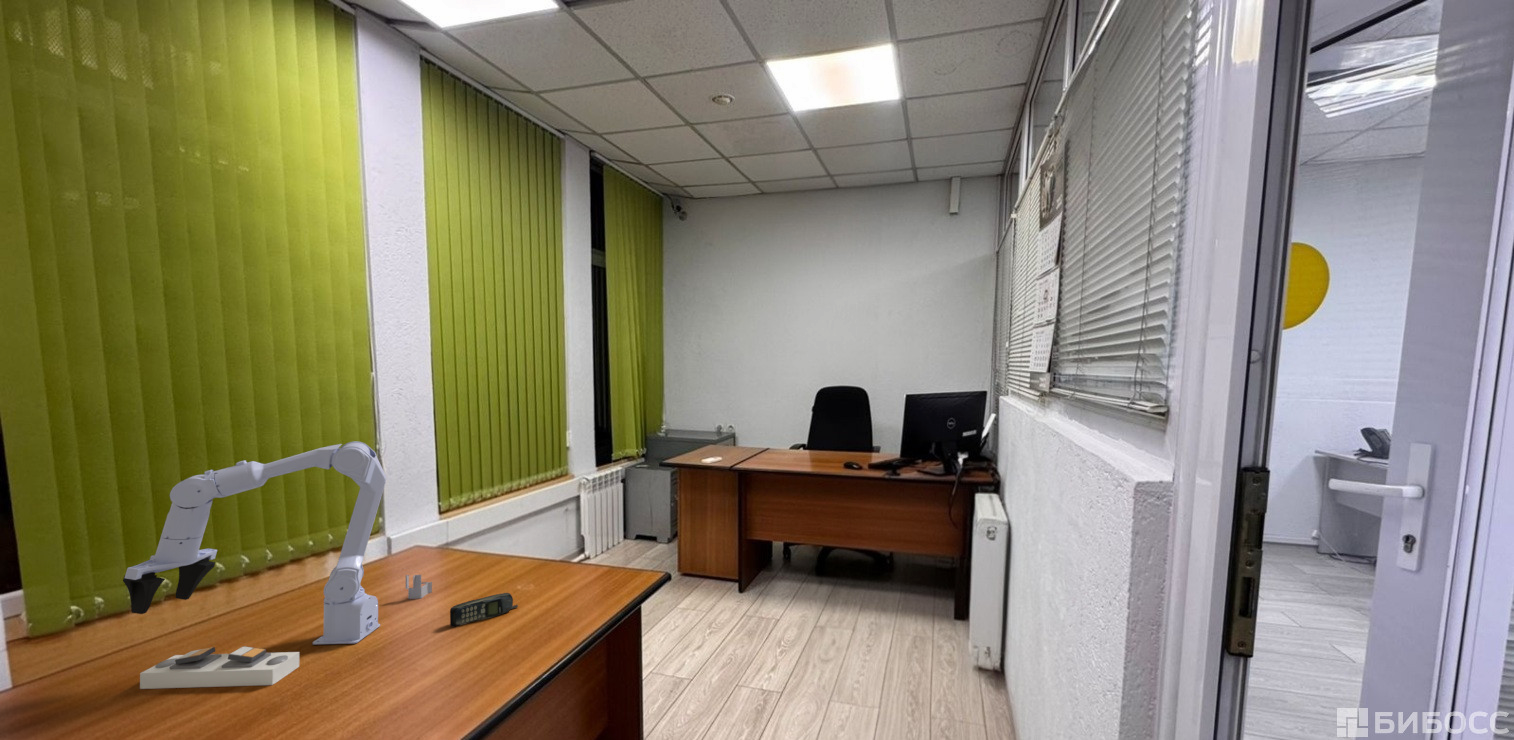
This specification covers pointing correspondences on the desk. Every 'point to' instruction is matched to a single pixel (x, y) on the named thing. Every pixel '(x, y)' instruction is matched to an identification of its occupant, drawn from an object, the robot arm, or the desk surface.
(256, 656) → the rocker
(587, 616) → the desk surface
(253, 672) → the rocker switch panel
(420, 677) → the desk surface
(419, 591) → the architectural model
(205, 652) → the rocker
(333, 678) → the desk surface
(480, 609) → the mobile phone
